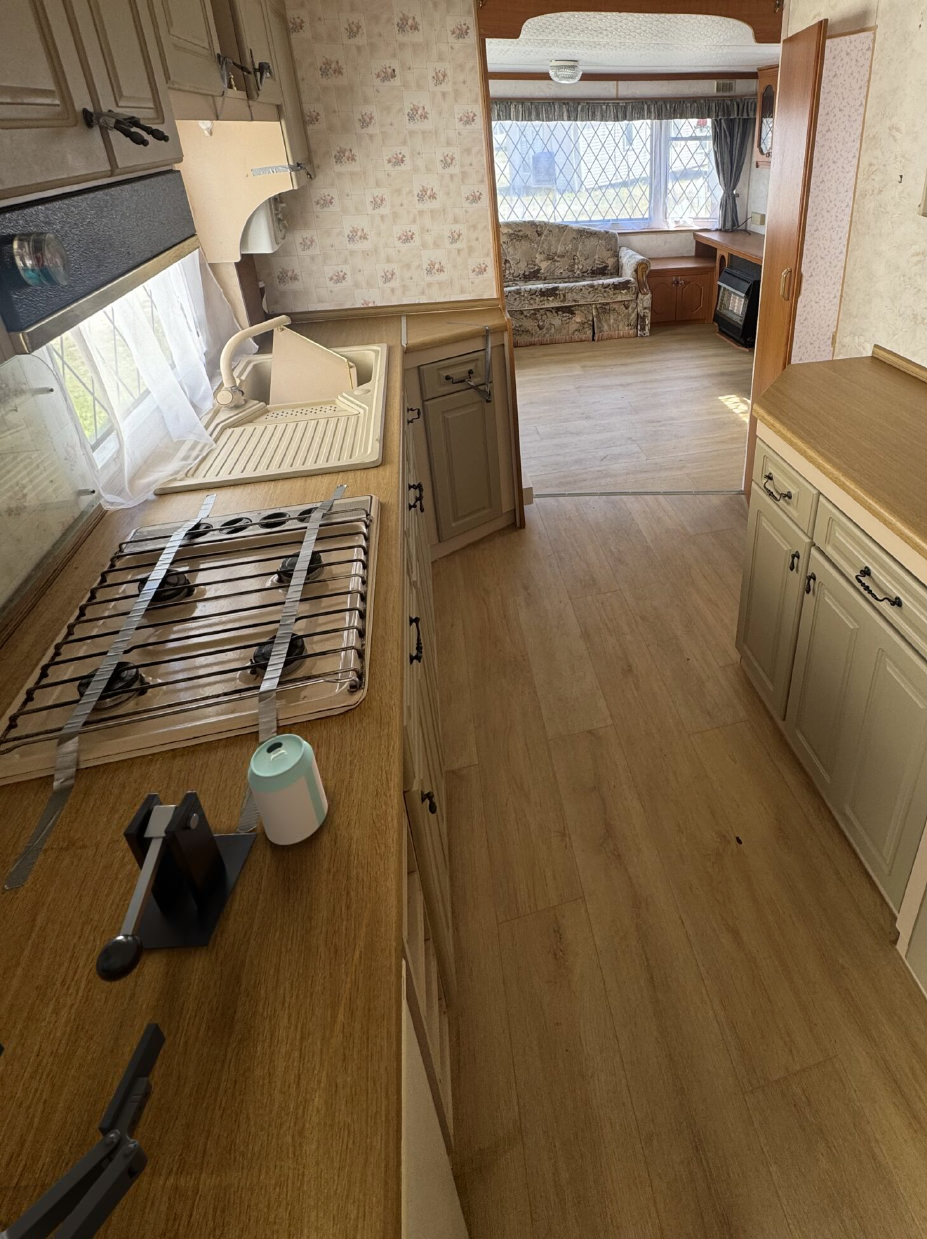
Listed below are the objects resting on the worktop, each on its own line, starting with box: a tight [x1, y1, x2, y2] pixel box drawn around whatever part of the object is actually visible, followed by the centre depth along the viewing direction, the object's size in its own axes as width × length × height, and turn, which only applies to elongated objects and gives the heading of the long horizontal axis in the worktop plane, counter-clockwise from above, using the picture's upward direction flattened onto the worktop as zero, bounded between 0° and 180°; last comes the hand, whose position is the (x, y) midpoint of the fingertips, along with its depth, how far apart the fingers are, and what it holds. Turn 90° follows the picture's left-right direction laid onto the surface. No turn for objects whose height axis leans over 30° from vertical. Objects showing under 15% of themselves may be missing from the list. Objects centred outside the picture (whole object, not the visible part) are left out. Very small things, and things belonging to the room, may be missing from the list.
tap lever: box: [95, 804, 179, 983], centre depth 65 cm, size 14×4×4 cm, turn 3°
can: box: [247, 733, 329, 846], centre depth 79 cm, size 7×7×12 cm
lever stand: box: [122, 791, 259, 950], centre depth 71 cm, size 12×9×14 cm
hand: (76, 1035), depth 57 cm, fingers open, 13 cm apart
